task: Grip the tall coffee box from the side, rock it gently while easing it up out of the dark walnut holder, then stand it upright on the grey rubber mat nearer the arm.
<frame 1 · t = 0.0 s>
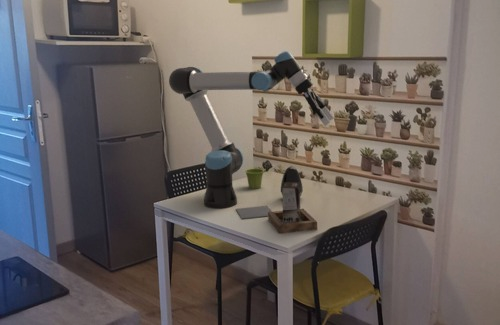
hand: (329, 121, 217), 36 cm above the table, tool tilted 35°, fingers open, 13 cm apart
dark rounded canister: (291, 198, 230), on the table
coffee box: (291, 224, 197), resting in walnut holder
plant pot: (255, 187, 251), on the table
grey rubber mat: (254, 212, 212), on the table
walnut holder: (291, 223, 197), on the table
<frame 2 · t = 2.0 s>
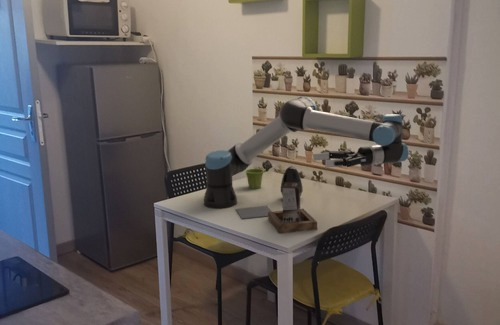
hand: (319, 160, 194), 25 cm above the table, tool horizontal, fingers open, 13 cm apart
nothing on the table moved.
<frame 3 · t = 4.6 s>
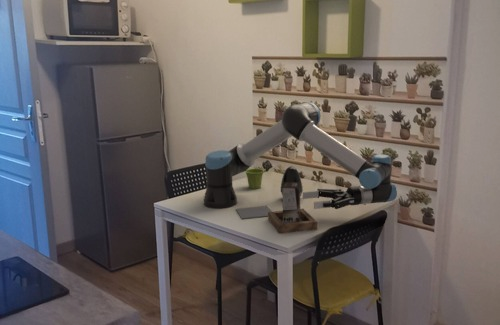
hand: (308, 200, 195), 9 cm above the table, tool horizontal, fingers open, 13 cm apart
nothing on the table moved.
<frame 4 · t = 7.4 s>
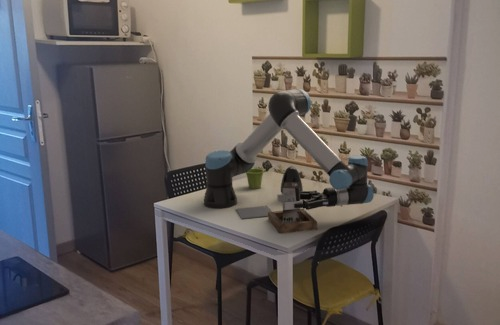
hand: (281, 201, 194), 10 cm above the table, tool horizontal, fingers closed on coffee box, 10 cm apart
coffee box: (291, 224, 197), resting in walnut holder, touching gripper
everything else where it was.
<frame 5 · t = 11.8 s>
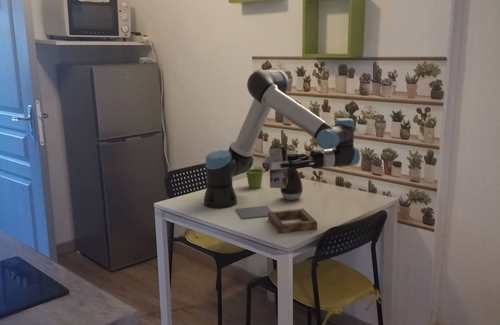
hand: (268, 162, 196), 24 cm above the table, tool horizontal, fingers closed on coffee box, 10 cm apart
coffee box: (278, 185, 199), point 14 cm above the table, touching gripper
everything else where it was.
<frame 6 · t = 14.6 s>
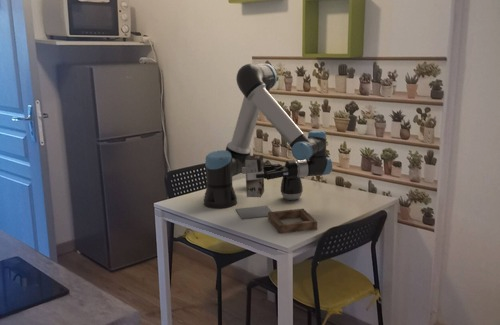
hand: (244, 173, 207), 18 cm above the table, tool horizontal, fingers closed on coffee box, 10 cm apart
coffee box: (255, 194, 209), point 8 cm above the table, touching gripper
everything else where it was.
when the fingers open (11 cm above the table, at t = 16.7 s): coffee box stays where it is, resting on grey rubber mat.
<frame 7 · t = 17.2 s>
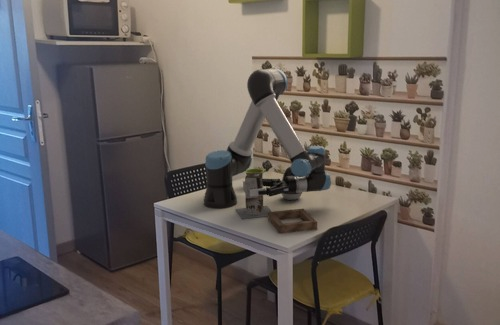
hand: (246, 188, 208), 11 cm above the table, tool horizontal, fingers open, 13 cm apart
coffee box: (254, 212, 212), resting on grey rubber mat
everything else where it was.
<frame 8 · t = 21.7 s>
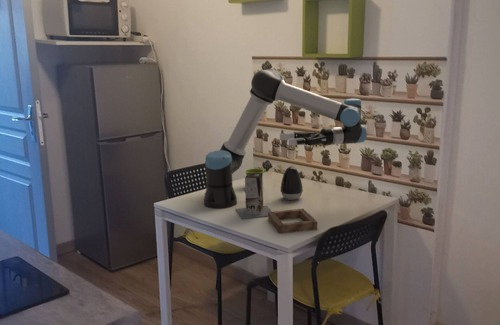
hand: (284, 139, 212), 30 cm above the table, tool horizontal, fingers open, 13 cm apart
nothing on the table moved.
at the end: coffee box inside the target area (0.1 cm from its centre), resting on grey rubber mat; coffee box tilted 0°; the gripper is holding nothing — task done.
